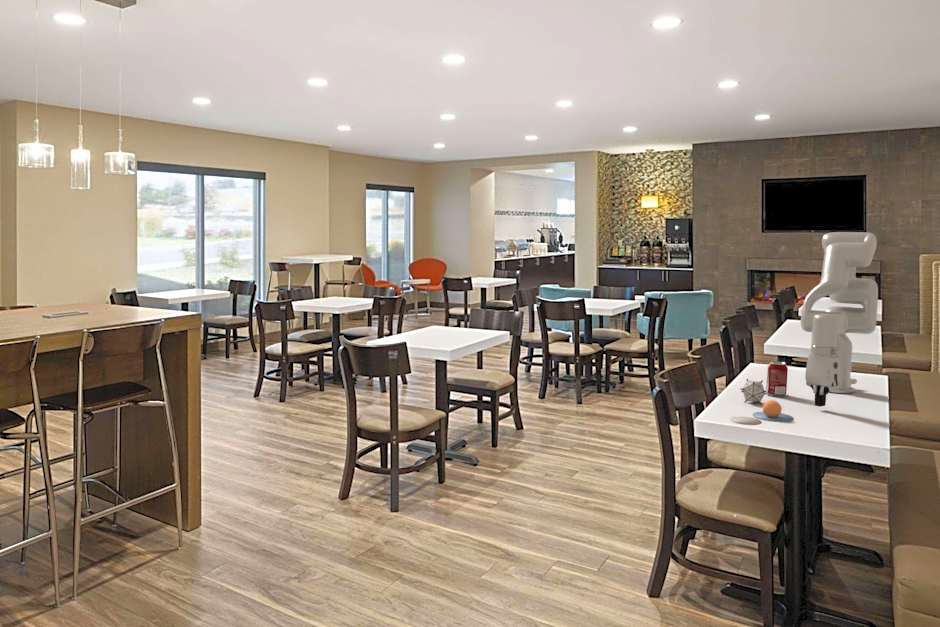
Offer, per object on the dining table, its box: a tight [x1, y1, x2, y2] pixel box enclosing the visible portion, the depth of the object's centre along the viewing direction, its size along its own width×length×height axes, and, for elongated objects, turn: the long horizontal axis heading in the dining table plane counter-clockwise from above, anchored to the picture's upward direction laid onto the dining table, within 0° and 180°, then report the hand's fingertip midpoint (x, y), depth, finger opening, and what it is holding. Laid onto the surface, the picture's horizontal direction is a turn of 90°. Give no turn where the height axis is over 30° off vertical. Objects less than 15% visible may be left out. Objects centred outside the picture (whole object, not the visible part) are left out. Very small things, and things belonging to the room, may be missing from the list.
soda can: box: [765, 360, 789, 397], centre depth 261 cm, size 7×7×12 cm
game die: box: [740, 378, 768, 405], centre depth 249 cm, size 9×8×10 cm
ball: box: [762, 400, 782, 418], centre depth 229 cm, size 6×6×6 cm
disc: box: [752, 411, 794, 423], centre depth 230 cm, size 12×12×1 cm
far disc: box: [730, 416, 762, 426], centre depth 225 cm, size 9×9×1 cm
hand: (819, 405), depth 240 cm, fingers closed
